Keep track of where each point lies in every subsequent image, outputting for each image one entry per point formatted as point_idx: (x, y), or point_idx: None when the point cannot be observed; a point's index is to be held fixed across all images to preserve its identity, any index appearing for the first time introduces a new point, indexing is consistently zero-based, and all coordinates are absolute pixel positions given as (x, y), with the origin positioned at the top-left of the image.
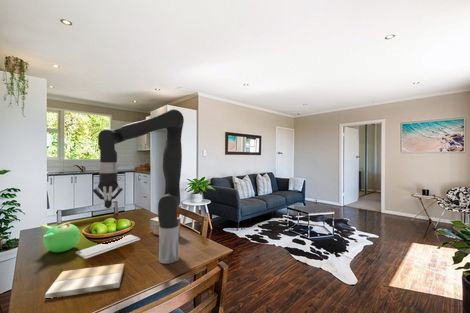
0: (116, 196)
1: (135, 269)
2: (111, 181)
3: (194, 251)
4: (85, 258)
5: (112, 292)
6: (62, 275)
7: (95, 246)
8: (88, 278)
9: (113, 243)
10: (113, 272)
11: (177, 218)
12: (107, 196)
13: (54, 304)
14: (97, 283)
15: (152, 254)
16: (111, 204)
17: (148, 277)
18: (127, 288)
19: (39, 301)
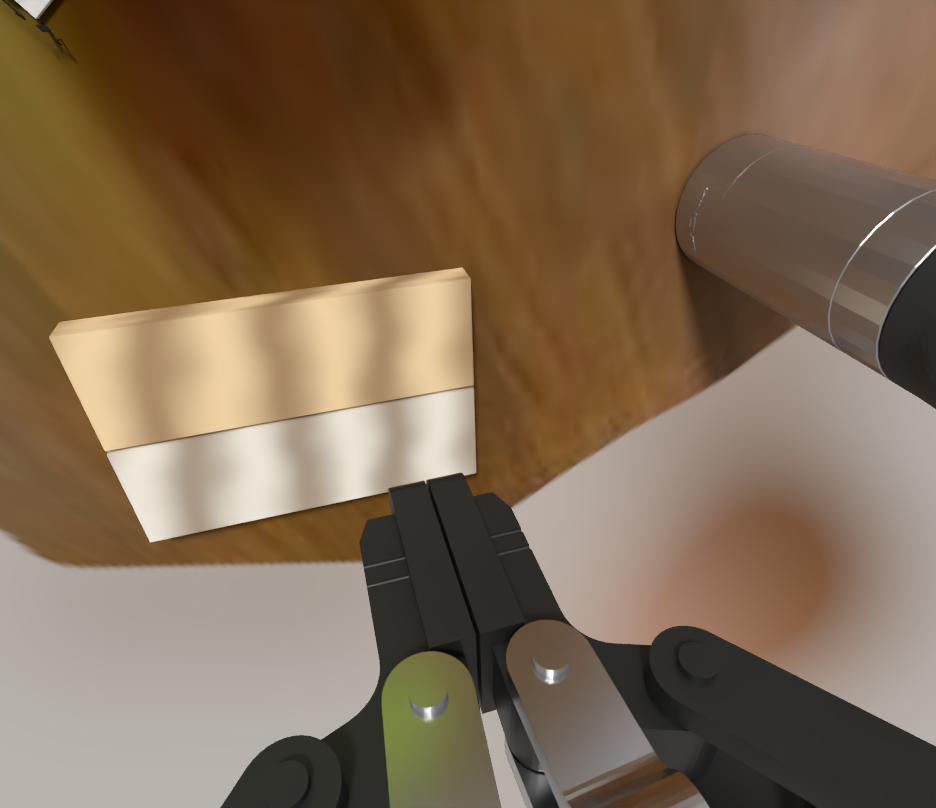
0: (746, 766)
1: (532, 303)
2: None
3: (922, 102)
4: (47, 31)
5: None
6: (100, 392)
7: None
8: (304, 435)
9: None
10: (427, 386)
11: None
12: (479, 777)
13: (229, 547)
14: (374, 476)
15: (653, 78)
16: (514, 539)
17: (595, 391)
18: (506, 464)
19: (137, 532)
